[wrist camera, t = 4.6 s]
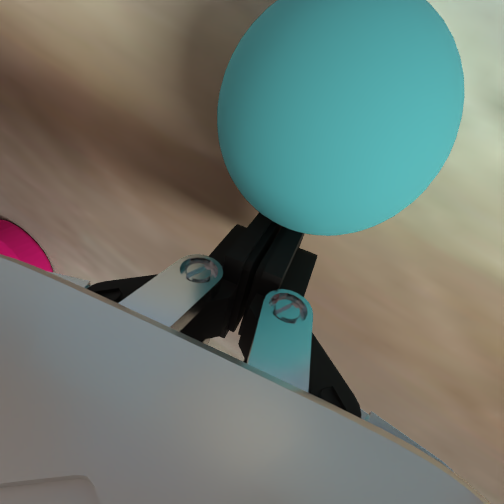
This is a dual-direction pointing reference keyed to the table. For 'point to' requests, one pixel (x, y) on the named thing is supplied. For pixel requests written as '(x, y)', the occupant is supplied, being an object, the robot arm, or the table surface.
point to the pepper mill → (21, 246)
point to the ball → (340, 110)
